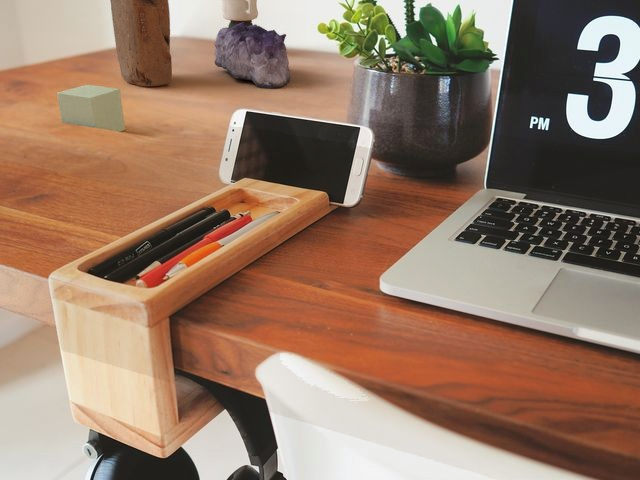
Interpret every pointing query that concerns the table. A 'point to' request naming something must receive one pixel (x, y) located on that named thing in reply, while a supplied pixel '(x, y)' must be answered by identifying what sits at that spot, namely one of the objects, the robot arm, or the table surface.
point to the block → (143, 40)
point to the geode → (253, 55)
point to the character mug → (239, 11)
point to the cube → (92, 107)
